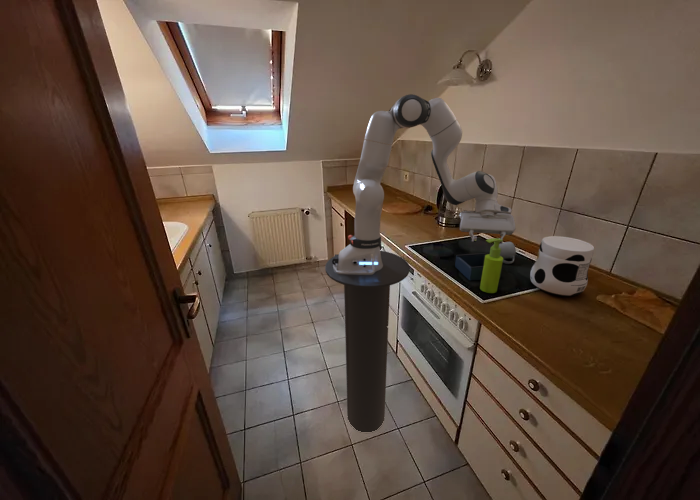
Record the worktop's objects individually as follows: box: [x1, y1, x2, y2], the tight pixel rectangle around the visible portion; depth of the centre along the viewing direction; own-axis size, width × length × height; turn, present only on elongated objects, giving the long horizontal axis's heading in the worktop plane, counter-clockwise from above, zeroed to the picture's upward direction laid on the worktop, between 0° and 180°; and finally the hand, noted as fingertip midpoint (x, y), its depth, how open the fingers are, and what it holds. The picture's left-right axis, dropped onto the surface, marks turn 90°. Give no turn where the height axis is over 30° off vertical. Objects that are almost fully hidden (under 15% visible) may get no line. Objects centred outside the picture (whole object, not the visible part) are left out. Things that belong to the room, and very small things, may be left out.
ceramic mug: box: [491, 241, 517, 265], centre depth 134 cm, size 11×8×8 cm
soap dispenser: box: [479, 237, 504, 294], centre depth 107 cm, size 6×7×20 cm
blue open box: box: [454, 252, 503, 281], centre depth 123 cm, size 13×13×6 cm
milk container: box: [529, 235, 595, 297], centre depth 107 cm, size 17×17×18 cm
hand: (487, 242), depth 116 cm, fingers open, 8 cm apart
